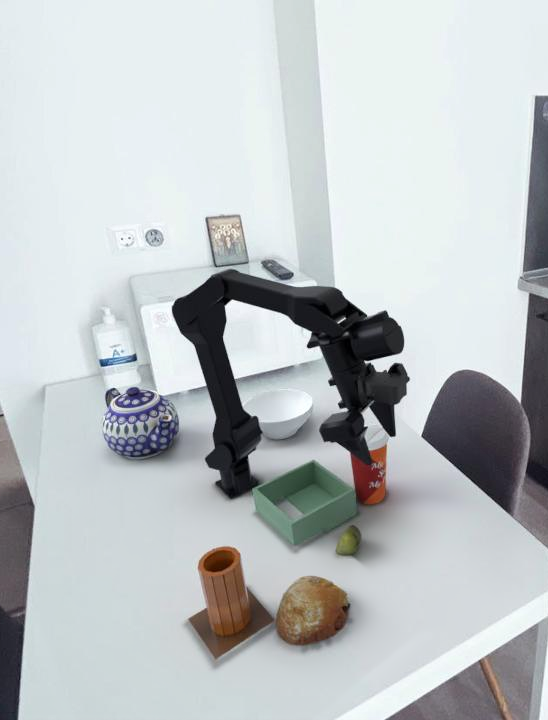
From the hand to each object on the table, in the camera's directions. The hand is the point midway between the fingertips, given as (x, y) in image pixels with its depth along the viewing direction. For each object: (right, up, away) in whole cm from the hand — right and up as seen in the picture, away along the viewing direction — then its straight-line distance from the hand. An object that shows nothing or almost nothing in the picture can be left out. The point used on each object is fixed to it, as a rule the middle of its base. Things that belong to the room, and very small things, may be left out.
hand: (382, 450), depth 91 cm
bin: (-14, -13, +9) cm, 22 cm away
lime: (-6, -17, +1) cm, 18 cm away
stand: (-21, -23, -13) cm, 33 cm away
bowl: (-26, -2, +36) cm, 45 cm away
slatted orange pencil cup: (-21, -22, -13) cm, 33 cm away
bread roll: (-9, -23, -12) cm, 27 cm away
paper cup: (-3, -11, +14) cm, 18 cm away
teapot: (-54, -4, +30) cm, 62 cm away
